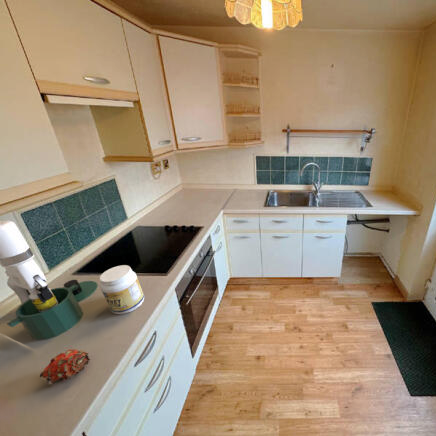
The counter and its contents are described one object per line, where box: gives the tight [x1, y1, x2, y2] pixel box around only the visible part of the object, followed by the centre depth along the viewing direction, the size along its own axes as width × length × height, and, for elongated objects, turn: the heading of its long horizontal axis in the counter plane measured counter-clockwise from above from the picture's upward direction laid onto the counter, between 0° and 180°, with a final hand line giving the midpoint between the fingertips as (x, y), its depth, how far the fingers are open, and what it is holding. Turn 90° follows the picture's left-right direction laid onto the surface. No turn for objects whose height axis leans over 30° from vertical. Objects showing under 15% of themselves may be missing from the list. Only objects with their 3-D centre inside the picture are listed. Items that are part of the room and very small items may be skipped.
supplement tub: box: [99, 264, 145, 315], centre depth 94 cm, size 12×12×17 cm
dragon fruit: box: [39, 349, 91, 386], centre depth 71 cm, size 8×8×12 cm
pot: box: [6, 284, 84, 341], centre depth 87 cm, size 15×20×12 cm
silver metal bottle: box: [4, 270, 30, 305], centre depth 93 cm, size 6×7×20 cm
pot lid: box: [63, 279, 99, 303], centre depth 103 cm, size 16×16×7 cm
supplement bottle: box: [28, 283, 58, 312], centre depth 83 cm, size 5×5×10 cm
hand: (42, 297), depth 83 cm, fingers closed on supplement bottle, 5 cm apart
